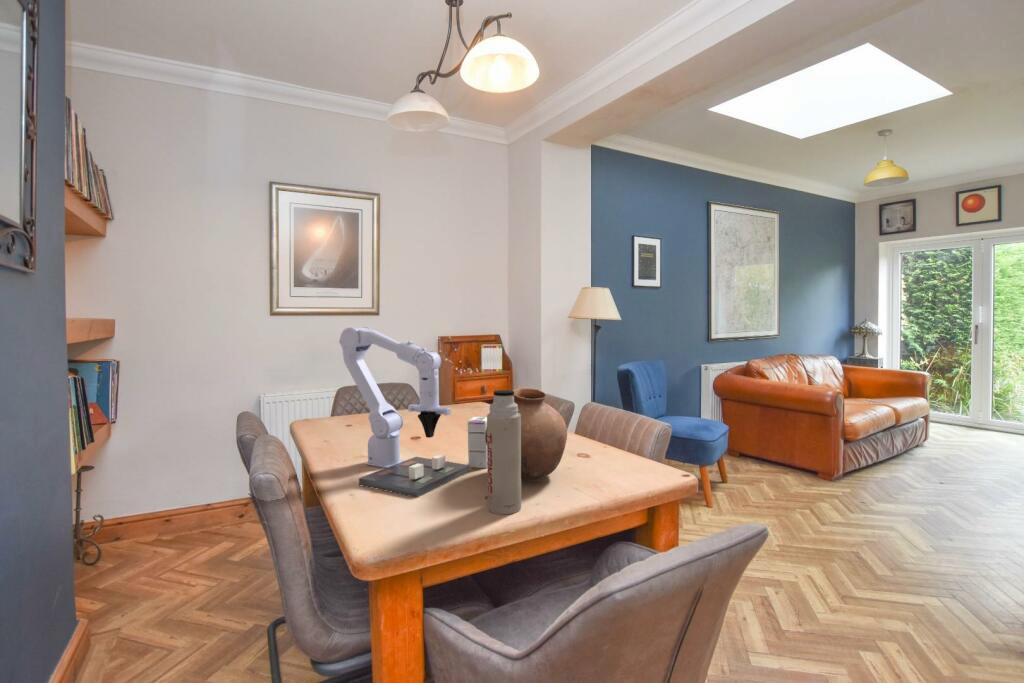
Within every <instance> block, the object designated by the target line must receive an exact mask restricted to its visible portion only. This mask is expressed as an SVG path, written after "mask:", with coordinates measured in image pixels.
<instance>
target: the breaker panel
mask: <svg viewBox="0 0 1024 683" xmlns="http://www.w3.org/2000/svg"><path fill="white" fill-rule="evenodd" d="M417 463H418V464H423V468H424V476H422V477H419V478H417V479H411V478H409V467H410V466H412V465H415V464H417ZM470 471H471V467H470V465H469V464H465V463H464V464H463V463H459V462H453V461H446V460H445V466H444V467H442V468H440V469H433V468H432V458H427V457H421V456H414V457H411V458H409V459H405V461H403V462H400V463H398V464H395V465H392V466H390V467H387V468H381V469H378V470H377V471H373V472H371V473H369V474H368V473H367V474H366V475H364V476H361V477H359V478H358V485H359V486H360V485H363V486H362V487H365V486H368V487H367V488H369V487H373V488H372V489H374V488H378V489H377V490H379V489H382V490H381V491H384V490H387V491H386V492H389V491H392V492H391V493H394V492H396V493H395V494H398V493H401V494H400V495H403V494H404V495H405V496H408V495H410V497H413V496H414V498H419V497H421V496H423V495H425V494H427V493H429V492H431V490H432V491H433V489H434V490H436V489H438V488H439V487H442V486H443V485H446V484H448V483H450V482H452V481H454V480H456V479H458V478H460V477H462V476H464V475H466V473H467V474H469V473H470ZM468 472H469V473H468ZM441 485H442V486H441ZM435 488H436V489H435Z"/></svg>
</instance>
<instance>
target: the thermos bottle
mask: <svg viewBox="0 0 1024 683" xmlns="http://www.w3.org/2000/svg"><path fill="white" fill-rule="evenodd" d="M512 390H513V389H512ZM512 390H511V389H499V390H498V389H497V390H494V391H493V402H492V403H491V404H490V405H489V413H487V414H486V417H487V468H486V469H487V476H486V477H487V510H488V511H489V512H490V513H493V514H497V515H511V514H514V513H518V512H519V510H520V511H521V509H522V480H521V414H519V413H518V405H517V404H516V403H514V396H513V395H514V391H512Z"/></svg>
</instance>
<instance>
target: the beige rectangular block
mask: <svg viewBox="0 0 1024 683" xmlns="http://www.w3.org/2000/svg"><path fill="white" fill-rule="evenodd" d="M422 476H424V468H423V464H418V463H417V464H415V465H412V466H410V467H409V478H411V479H417V478H419V477H422Z"/></svg>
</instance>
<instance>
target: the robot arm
mask: <svg viewBox="0 0 1024 683" xmlns="http://www.w3.org/2000/svg"><path fill="white" fill-rule="evenodd" d="M338 343H339V344H340V346H341V348H342V355H343V358H342V359H343V362H344V364H345V366H346V368H347V369H348V372H349V373H350V376H351V377H352V379H353V382H355V385H356V386H357V388H358V391H359V392H360V394H361V396H362V399H363V400H364V402H365V403H366V405H367V407H368V409H369V414H368V416H367V418H368V421H369V423H370V429H371V432H372V435H371V436H370V437H369V439H368V441H367V462H366V463H365V464H366V465H367V466H374V467H378V468H382V469H384V468H387V467H390V466H392V465H395V464H398V463H400V462H403V461H406V459H401V458H400V457H401V455H400V450H401V449H400V448H401V447H400V444H401V443H400V442H401V441H400V433H401V431H400V430H402V428H403V425H404V419H403V416H402V415H401V413H399V412H398V411H397V410H396V408H395V407H394V406H393V405H391V404H390V403H388V402H387V401H386V399H385V397H384V395H383V393H382V392H381V389H380V388H379V386H378V384H377V382H376V380H375V379H374V377H373V374H372V372H371V371H370V369H369V367H368V365H367V363H366V362H365V360H364V358H365V356H366V353H367V352H368V350H369V349H370V348H371V346H372V345H375V346H378V347H380V348H383V349H385V350H388V351H390V352H393V353H395V355H396V357H397V359H398V360H400V361H403V362H405V363H408V364H410V365H412V366H415V367H416V369H417V370H418V378H419V379H418V380H419V381H418V384H419V385H418V388H419V390H418V391H419V404H417V403H416V404H415V403H414V404H413V403H411V404H408V412H416V413H419V414H417V418H418V419H419V421H420V422H421V425H422V428H423V431H424V436H425V437H426V438H429V439H430V438H432V437H433V438H434V435H435V430H436V427H437V424H438V422H439V419H440V417H441V416H442V415H443V416H450V415H452V408H451V407H446V406H443V405H440V402H439V401H440V400H439V398H440V397H439V392H440V391H439V390H440V389H439V385H440V384H439V381H440V379H439V368H440V367H441V365H442V358H441V355H440V354H439V353H438V352H436V351H435V350H429V351H427V350H428V349H427V348H426V347H420V346H418V345H415V344H414V341H411V340H408V341H406V340H405V341H402V342H399V341H397V340H395V339H393V338H391V337H390V336H388V335H385V334H383V333H381V332H380V331H377V330H376V329H373V328H370V327H368V326H362V327H347V328H344V329H343V330H342V332H341V333H340V337H339V340H338Z"/></svg>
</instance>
